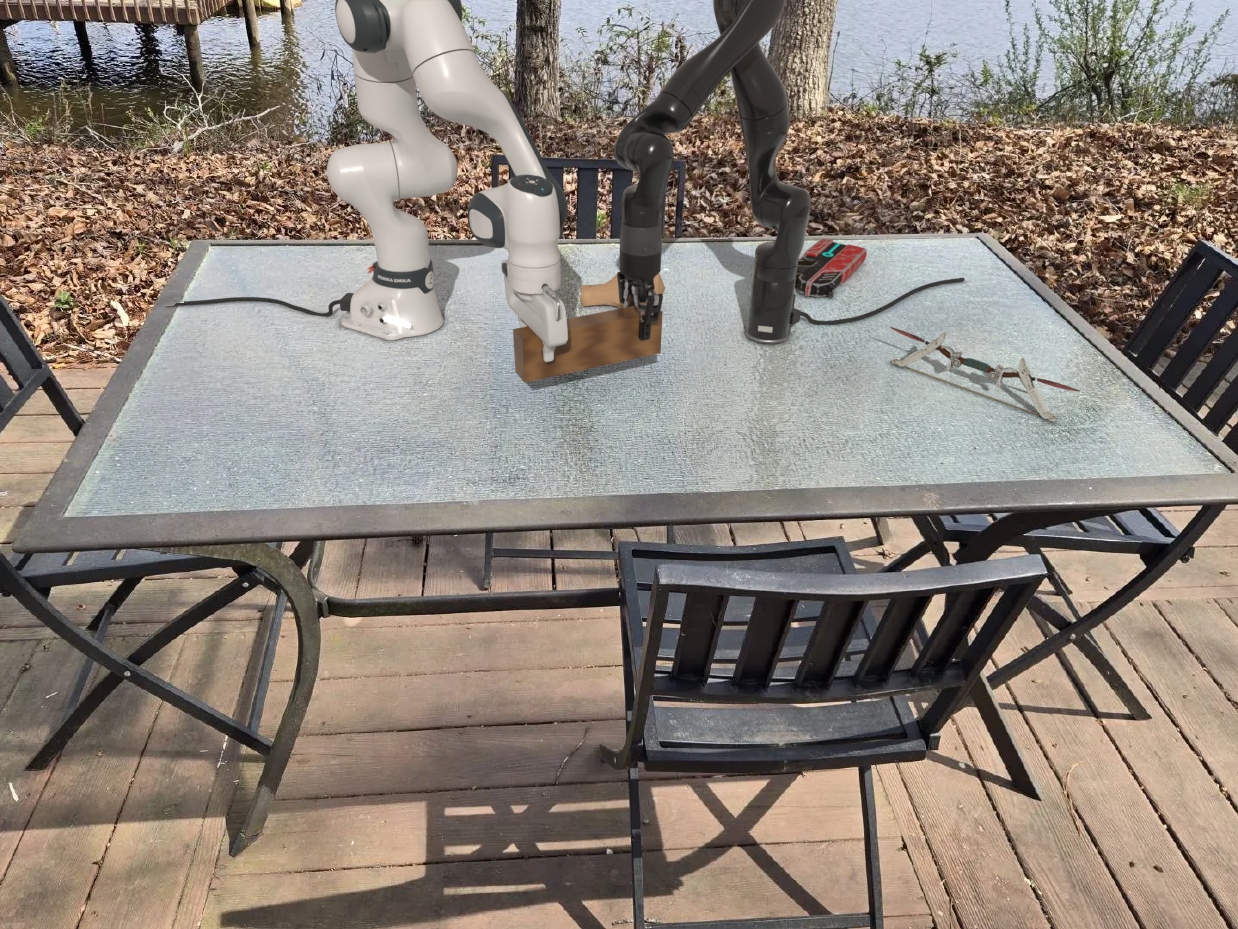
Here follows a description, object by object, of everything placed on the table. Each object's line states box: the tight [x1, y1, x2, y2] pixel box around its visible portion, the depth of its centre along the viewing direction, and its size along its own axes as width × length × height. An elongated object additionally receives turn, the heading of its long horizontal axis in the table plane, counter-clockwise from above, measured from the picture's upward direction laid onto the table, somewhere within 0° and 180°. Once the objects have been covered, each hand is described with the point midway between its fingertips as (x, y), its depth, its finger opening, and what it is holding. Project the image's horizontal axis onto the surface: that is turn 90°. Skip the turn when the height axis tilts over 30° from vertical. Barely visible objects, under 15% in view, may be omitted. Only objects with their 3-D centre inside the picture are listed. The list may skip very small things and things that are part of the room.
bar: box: [512, 304, 664, 384], centre depth 162 cm, size 28×5×9 cm, turn 117°
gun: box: [795, 237, 868, 299], centre depth 225 cm, size 4×31×19 cm
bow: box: [889, 326, 1081, 422], centre depth 173 cm, size 39×2×10 cm, turn 47°
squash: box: [579, 273, 666, 309], centre depth 204 cm, size 11×20×9 cm, turn 90°
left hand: (537, 349), depth 157 cm, fingers open, 8 cm apart
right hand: (637, 333), depth 166 cm, fingers closed on bar, 4 cm apart
